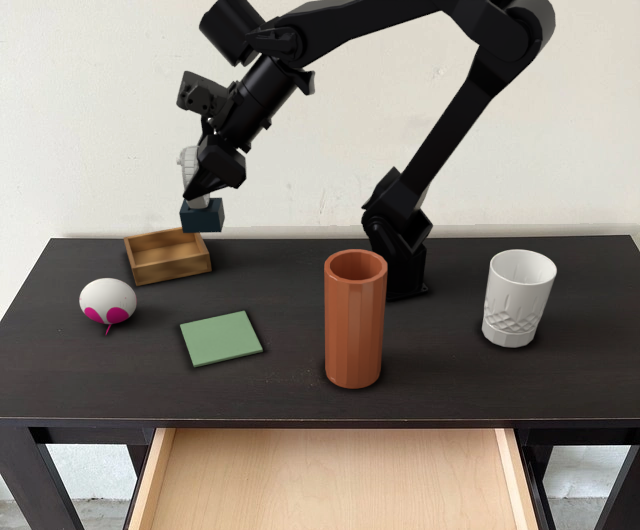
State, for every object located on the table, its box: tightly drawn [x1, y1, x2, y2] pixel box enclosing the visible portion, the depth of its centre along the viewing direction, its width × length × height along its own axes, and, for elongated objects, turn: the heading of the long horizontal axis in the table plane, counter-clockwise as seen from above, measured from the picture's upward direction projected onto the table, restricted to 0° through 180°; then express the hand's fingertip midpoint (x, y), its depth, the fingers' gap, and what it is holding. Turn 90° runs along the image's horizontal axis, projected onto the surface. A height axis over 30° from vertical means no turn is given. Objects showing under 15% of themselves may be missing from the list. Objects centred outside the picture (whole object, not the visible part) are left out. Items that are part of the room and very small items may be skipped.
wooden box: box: [123, 226, 213, 287], centre depth 99 cm, size 11×9×3 cm
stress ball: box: [77, 277, 138, 335], centre depth 89 cm, size 8×8×7 cm
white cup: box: [481, 249, 558, 348], centre depth 83 cm, size 8×8×10 cm
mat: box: [179, 310, 264, 368], centre depth 87 cm, size 9×9×1 cm
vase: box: [323, 248, 387, 390], centre depth 77 cm, size 7×7×15 cm
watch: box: [176, 144, 226, 234], centre depth 92 cm, size 6×8×11 cm
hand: (187, 184), depth 91 cm, fingers closed on watch, 8 cm apart
